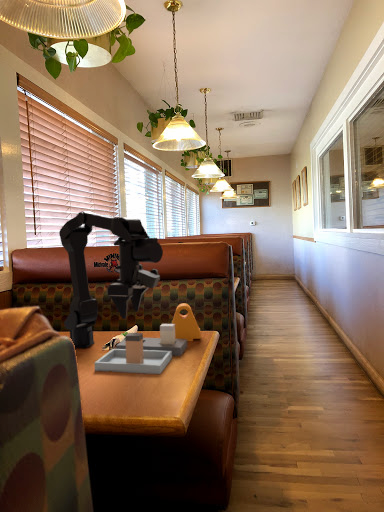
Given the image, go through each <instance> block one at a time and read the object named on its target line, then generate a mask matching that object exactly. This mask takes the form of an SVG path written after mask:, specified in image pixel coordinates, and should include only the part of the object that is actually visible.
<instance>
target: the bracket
mask: <svg viewBox="0 0 384 512" xmlns="http://www.w3.org/2000/svg"><path fill="white" fill-rule="evenodd" d="M182 310H186V311H187V314H185V315H183V314H181V313H180V312H181V311H182ZM171 324H175V339H187V342H193V341H194V339H196V340H197V339H201V338H202V336H201V328H200V327H199V325H198V321H197V320H196V318H195V315H194V313H193V311H192V307H191V306H190V305H189V304H188V303H184V302H183V303H179V304H178V305H177V307H176V309H175V312H174V315H173V318H172V320H171Z"/></svg>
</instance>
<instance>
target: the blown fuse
mask: <svg viewBox="0 0 384 512" xmlns="http://www.w3.org/2000/svg"><path fill="white" fill-rule="evenodd" d="M124 337H125V338H124V339H125V343H126V363H138V364H142V363H143V362H144V357H143V338H144V334H143V332H129V333H126V334H125V336H124Z"/></svg>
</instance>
